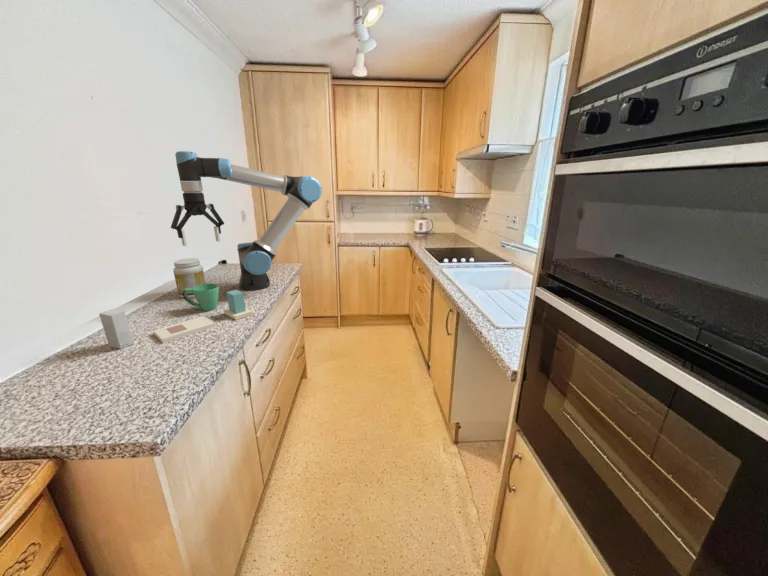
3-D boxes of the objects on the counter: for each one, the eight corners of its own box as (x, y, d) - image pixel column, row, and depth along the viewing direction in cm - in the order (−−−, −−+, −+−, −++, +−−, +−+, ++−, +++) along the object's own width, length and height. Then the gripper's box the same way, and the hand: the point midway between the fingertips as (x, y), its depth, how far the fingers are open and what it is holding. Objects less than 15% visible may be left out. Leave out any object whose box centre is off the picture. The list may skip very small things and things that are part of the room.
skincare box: (134, 343, 107) (125, 311, 103) (120, 349, 103) (110, 316, 99) (122, 340, 109) (112, 308, 105) (108, 346, 105) (98, 313, 101)
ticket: (206, 318, 126) (206, 315, 126) (217, 325, 120) (216, 322, 119) (153, 334, 113) (152, 330, 113) (163, 343, 107) (162, 339, 106)
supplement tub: (178, 293, 155) (171, 259, 149) (206, 289, 161) (200, 256, 156) (179, 300, 145) (171, 265, 140) (208, 295, 151) (202, 261, 146)
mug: (225, 304, 141) (222, 283, 138) (216, 313, 132) (212, 290, 129) (191, 305, 140) (187, 284, 137) (180, 314, 130) (175, 291, 127)
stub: (240, 308, 136) (237, 287, 133) (252, 314, 130) (249, 293, 127) (224, 313, 131) (220, 291, 128) (235, 320, 125) (231, 297, 122)
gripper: (219, 191, 141) (227, 238, 148) (154, 192, 123) (166, 246, 130) (227, 191, 136) (234, 240, 143) (160, 193, 118) (172, 248, 125)
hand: (202, 243), depth 136 cm, fingers open, 13 cm apart
